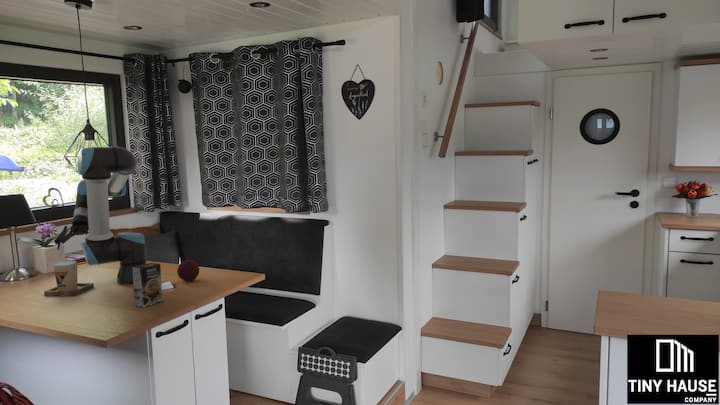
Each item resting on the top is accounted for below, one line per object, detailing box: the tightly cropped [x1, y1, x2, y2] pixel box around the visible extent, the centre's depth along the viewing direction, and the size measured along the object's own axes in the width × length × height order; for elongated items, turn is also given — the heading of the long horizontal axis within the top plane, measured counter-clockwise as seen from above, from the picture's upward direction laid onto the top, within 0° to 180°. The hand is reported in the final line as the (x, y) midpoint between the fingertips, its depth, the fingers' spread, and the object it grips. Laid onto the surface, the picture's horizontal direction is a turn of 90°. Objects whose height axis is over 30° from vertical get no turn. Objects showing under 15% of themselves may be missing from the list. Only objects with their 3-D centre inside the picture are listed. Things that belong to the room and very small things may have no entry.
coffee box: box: [132, 262, 164, 308], centre depth 218 cm, size 9×6×16 cm
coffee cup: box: [53, 260, 78, 291], centre depth 239 cm, size 9×9×12 cm
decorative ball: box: [176, 259, 200, 282], centre depth 253 cm, size 10×10×10 cm
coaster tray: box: [43, 282, 95, 297], centre depth 240 cm, size 14×14×2 cm
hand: (75, 254), depth 254 cm, fingers open, 13 cm apart
